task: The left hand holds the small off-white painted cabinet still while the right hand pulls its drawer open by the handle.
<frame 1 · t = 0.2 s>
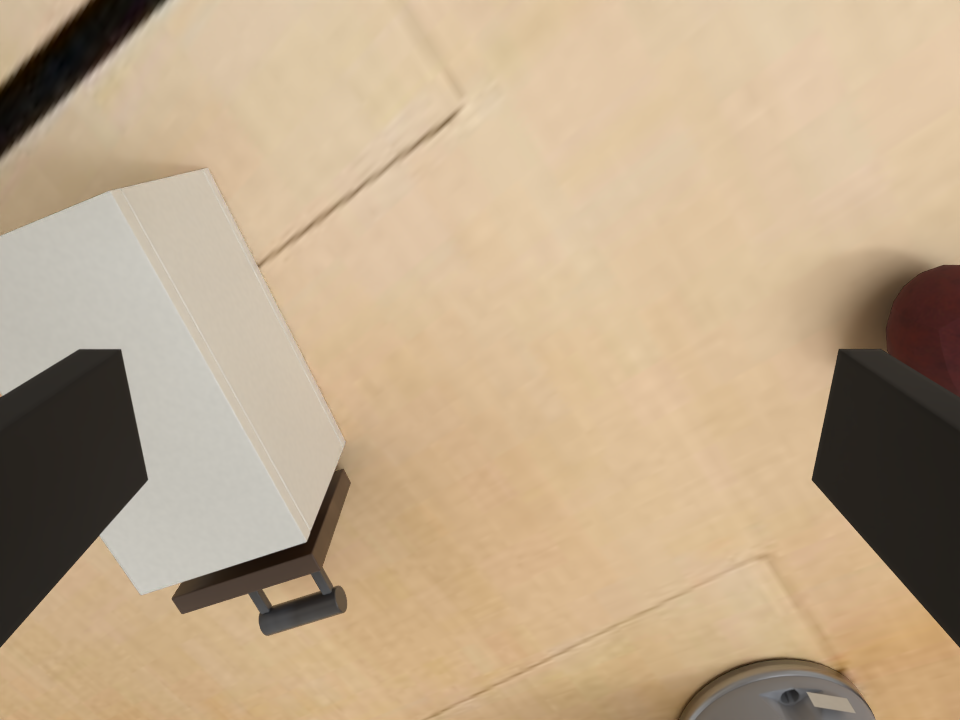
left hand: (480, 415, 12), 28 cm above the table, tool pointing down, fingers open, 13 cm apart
dark red rounded piece: (919, 311, 41), on the table
cabinet: (212, 341, 41), on the table
drawer: (226, 461, 38), point 5 cm above the table, slide at 1.3 cm
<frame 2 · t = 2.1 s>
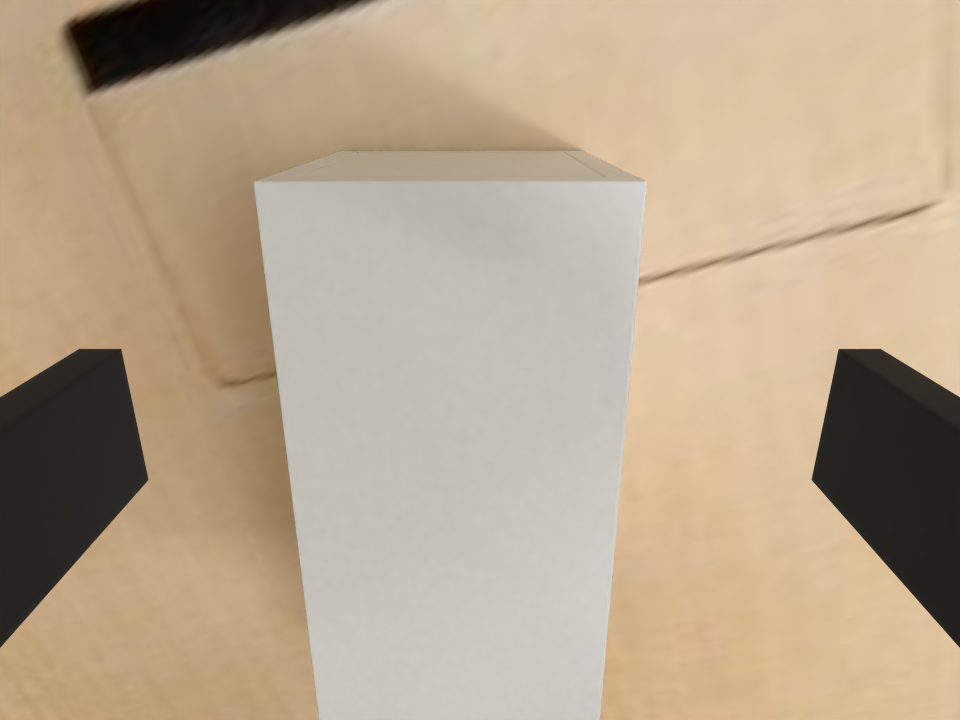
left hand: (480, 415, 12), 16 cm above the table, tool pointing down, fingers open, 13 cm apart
cabinet: (464, 368, 30), on the table
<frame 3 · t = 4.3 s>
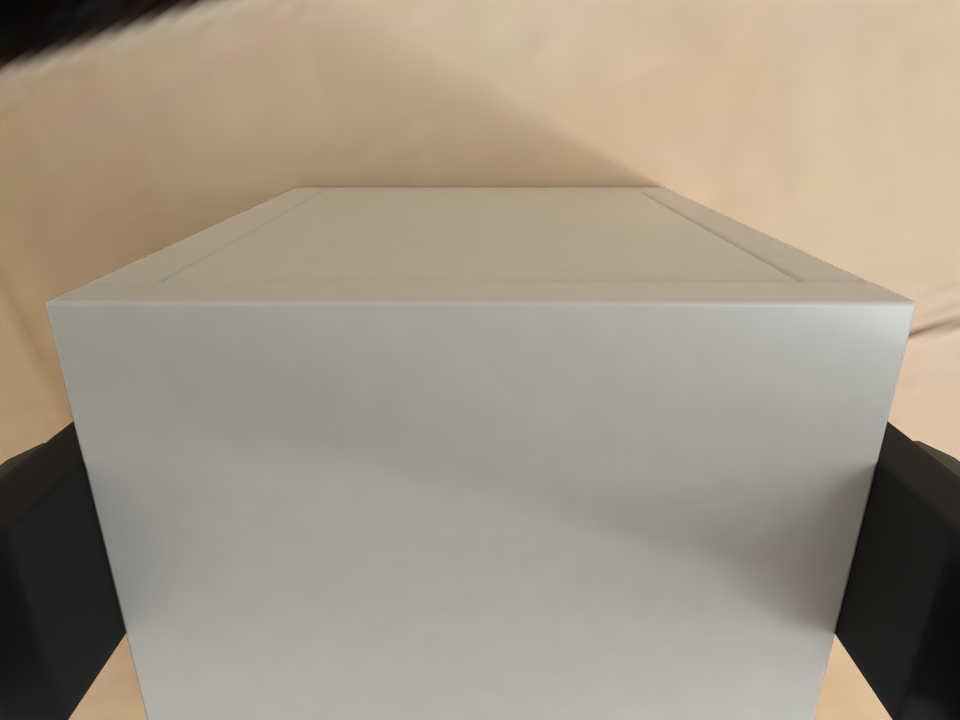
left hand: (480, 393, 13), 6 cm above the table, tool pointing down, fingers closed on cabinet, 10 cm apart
cabinet: (480, 493, 21), on the table, touching left hand
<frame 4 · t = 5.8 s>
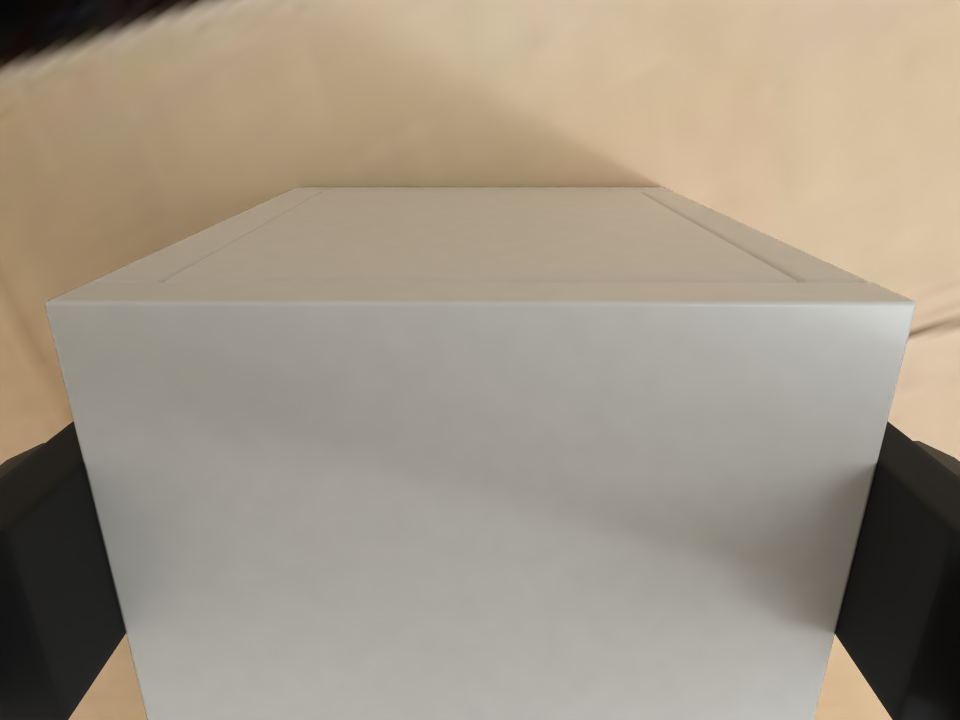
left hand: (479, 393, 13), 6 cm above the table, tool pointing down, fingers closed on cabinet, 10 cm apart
cabinet: (480, 493, 21), on the table, touching left hand
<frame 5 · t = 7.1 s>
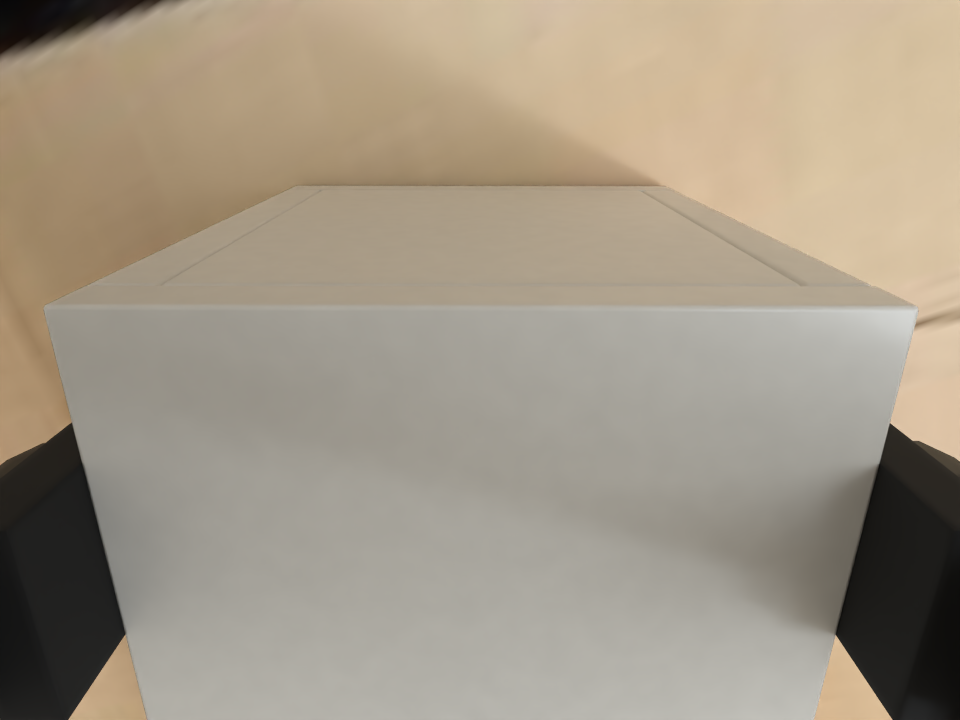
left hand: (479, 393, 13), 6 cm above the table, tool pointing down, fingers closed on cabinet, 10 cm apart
cabinet: (480, 492, 21), on the table, touching left hand
when the left hand's fingers open (6 cm above the table, at t = 9.0 s): cabinet stays where it is, on the table.
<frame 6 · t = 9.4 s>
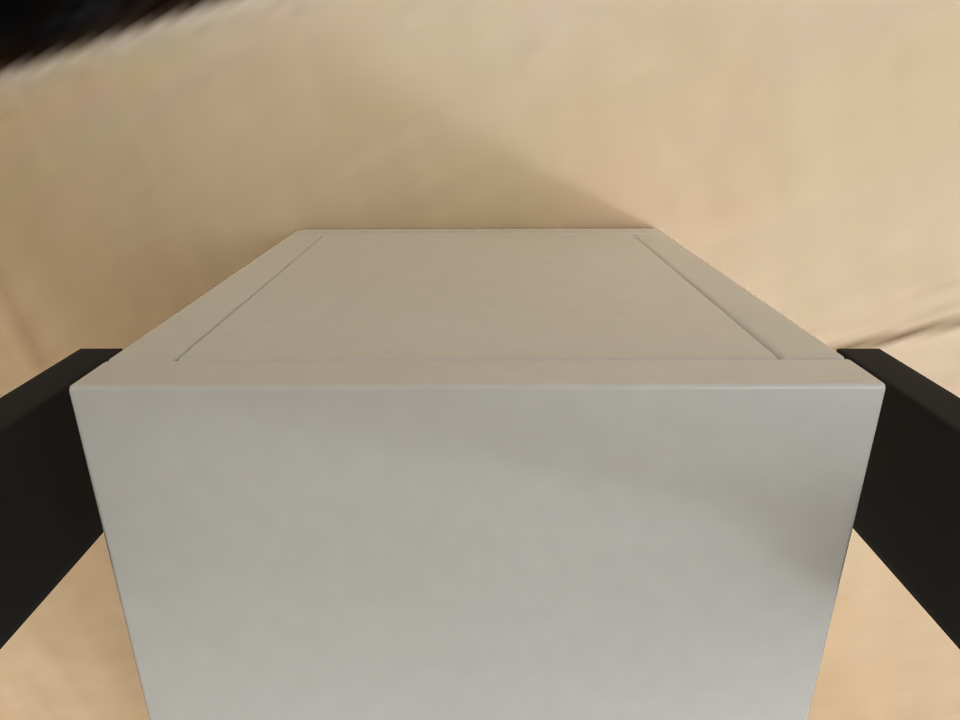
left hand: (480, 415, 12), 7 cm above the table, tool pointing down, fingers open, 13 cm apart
cabinet: (479, 521, 21), on the table
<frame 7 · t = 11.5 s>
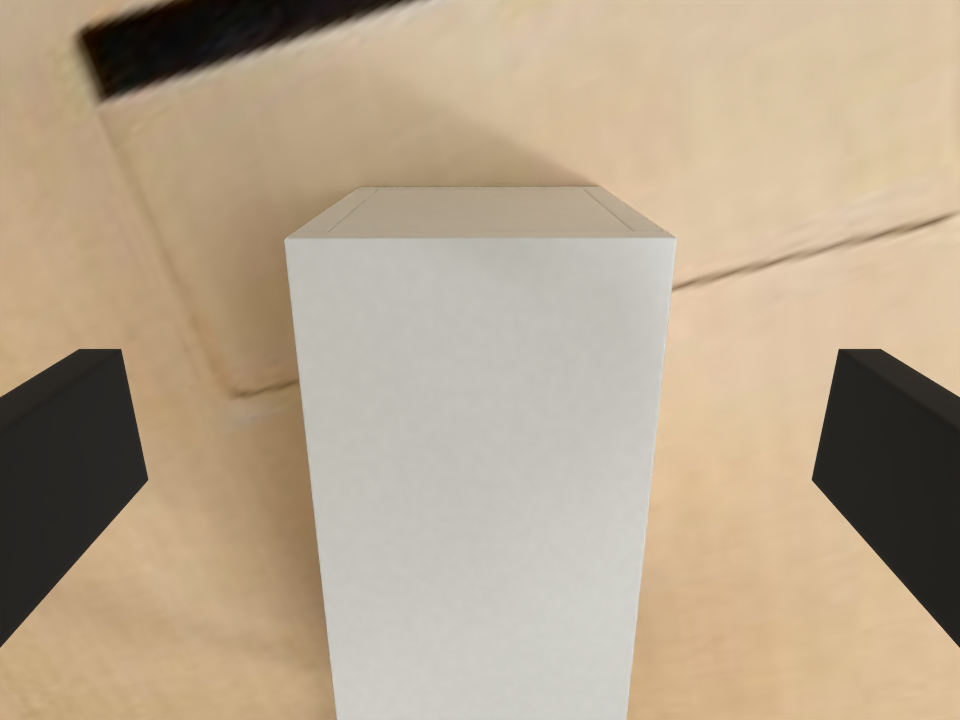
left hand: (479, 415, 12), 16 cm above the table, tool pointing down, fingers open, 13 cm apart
cabinet: (480, 400, 30), on the table
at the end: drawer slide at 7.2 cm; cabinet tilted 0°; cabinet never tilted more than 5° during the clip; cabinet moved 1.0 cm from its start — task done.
